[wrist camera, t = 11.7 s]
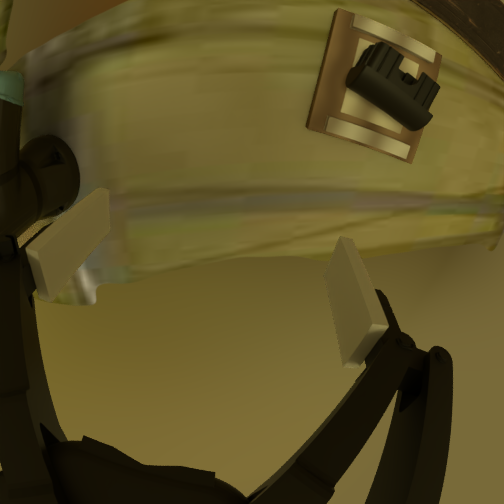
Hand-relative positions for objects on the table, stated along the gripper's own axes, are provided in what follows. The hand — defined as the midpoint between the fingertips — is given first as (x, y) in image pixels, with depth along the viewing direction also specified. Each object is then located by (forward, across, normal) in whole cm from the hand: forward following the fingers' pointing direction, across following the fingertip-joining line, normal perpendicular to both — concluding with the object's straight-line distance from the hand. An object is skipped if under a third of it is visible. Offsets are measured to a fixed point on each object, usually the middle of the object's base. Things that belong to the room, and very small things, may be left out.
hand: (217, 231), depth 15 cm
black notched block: (+24, +15, +13) cm, 31 cm away
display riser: (+27, +15, +13) cm, 33 cm away
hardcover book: (+28, +29, +36) cm, 54 cm away
